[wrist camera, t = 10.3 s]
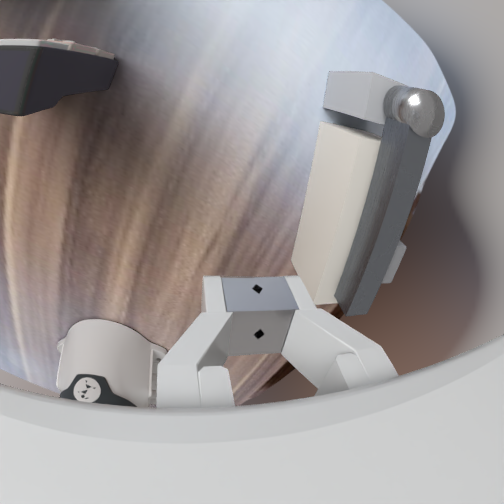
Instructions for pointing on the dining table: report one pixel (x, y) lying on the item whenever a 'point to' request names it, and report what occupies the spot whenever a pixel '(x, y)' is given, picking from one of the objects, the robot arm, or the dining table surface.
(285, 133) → the dining table surface
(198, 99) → the dining table surface
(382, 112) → the post
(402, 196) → the swing bar
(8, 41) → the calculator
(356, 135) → the door slab
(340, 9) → the dining table surface
